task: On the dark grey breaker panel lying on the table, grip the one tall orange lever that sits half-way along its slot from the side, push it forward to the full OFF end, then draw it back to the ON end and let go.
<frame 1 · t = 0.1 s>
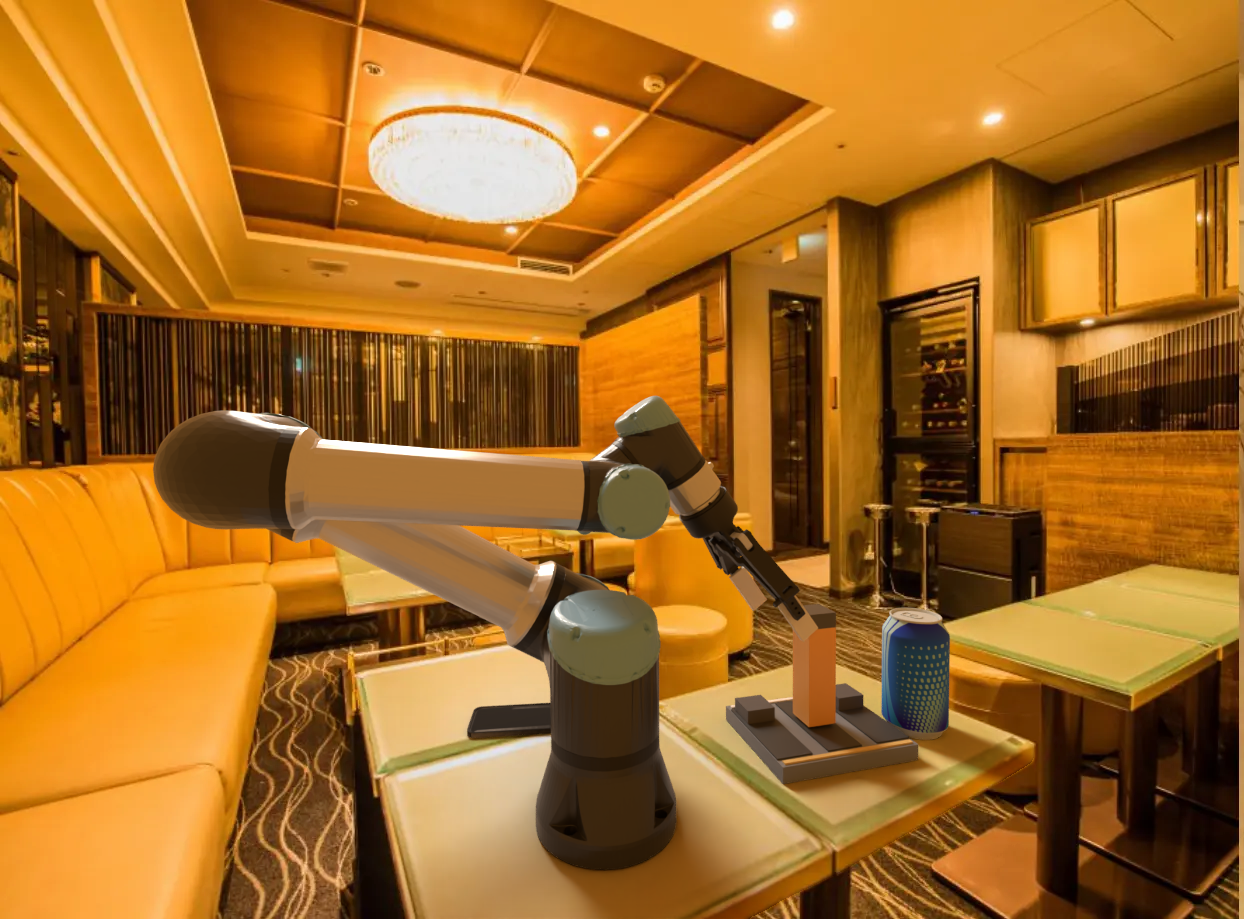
hand: (782, 618, 82), 15 cm above the table, tool tilted 35°, fingers open, 13 cm apart
beer can: (914, 728, 81), on the table
orange lever: (813, 663, 78), point 10 cm above the table, slide at 0.4 cm
phone: (523, 724, 84), on the table
breaker panel: (815, 738, 78), on the table
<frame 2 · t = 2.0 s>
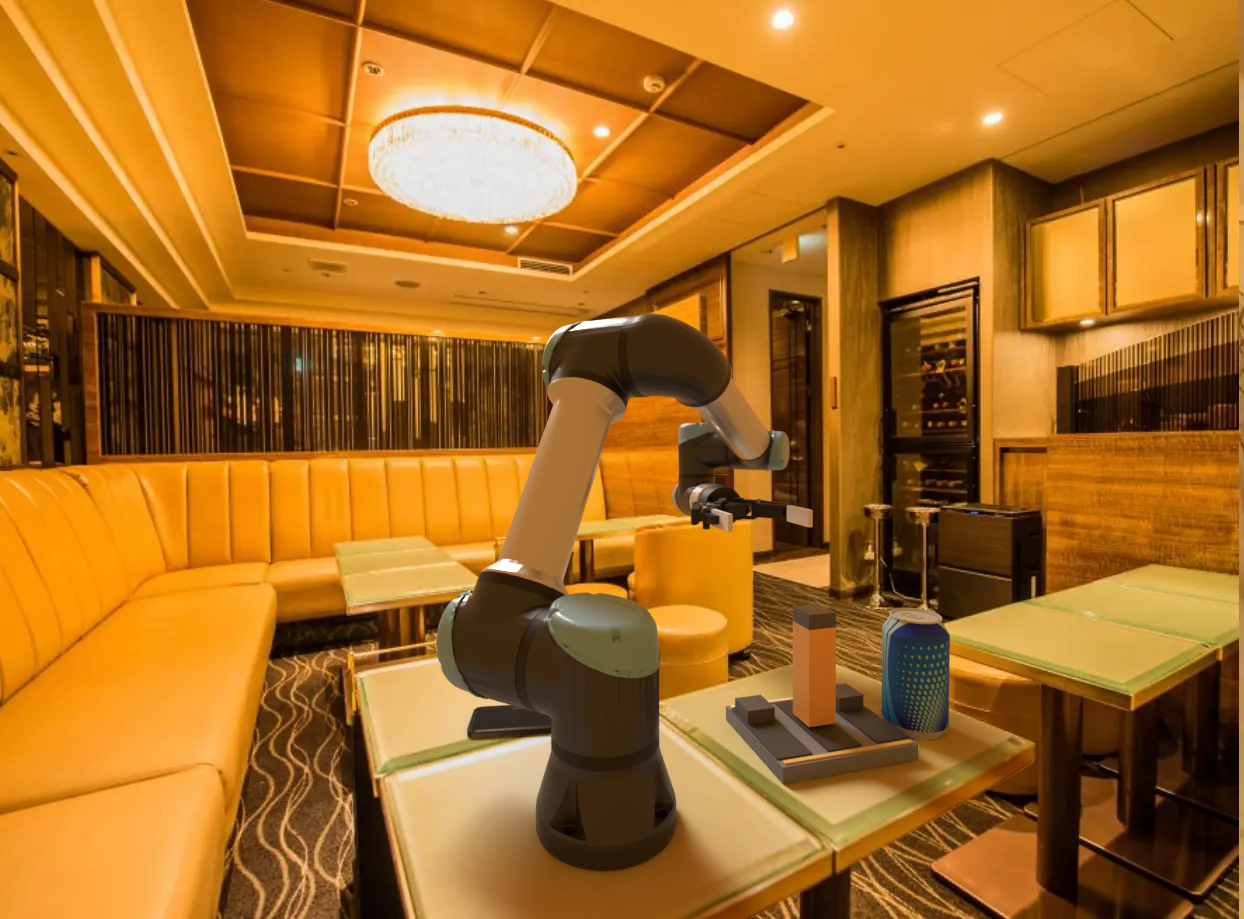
hand: (771, 520, 89), 28 cm above the table, tool horizontal, fingers open, 13 cm apart
nothing on the table moved.
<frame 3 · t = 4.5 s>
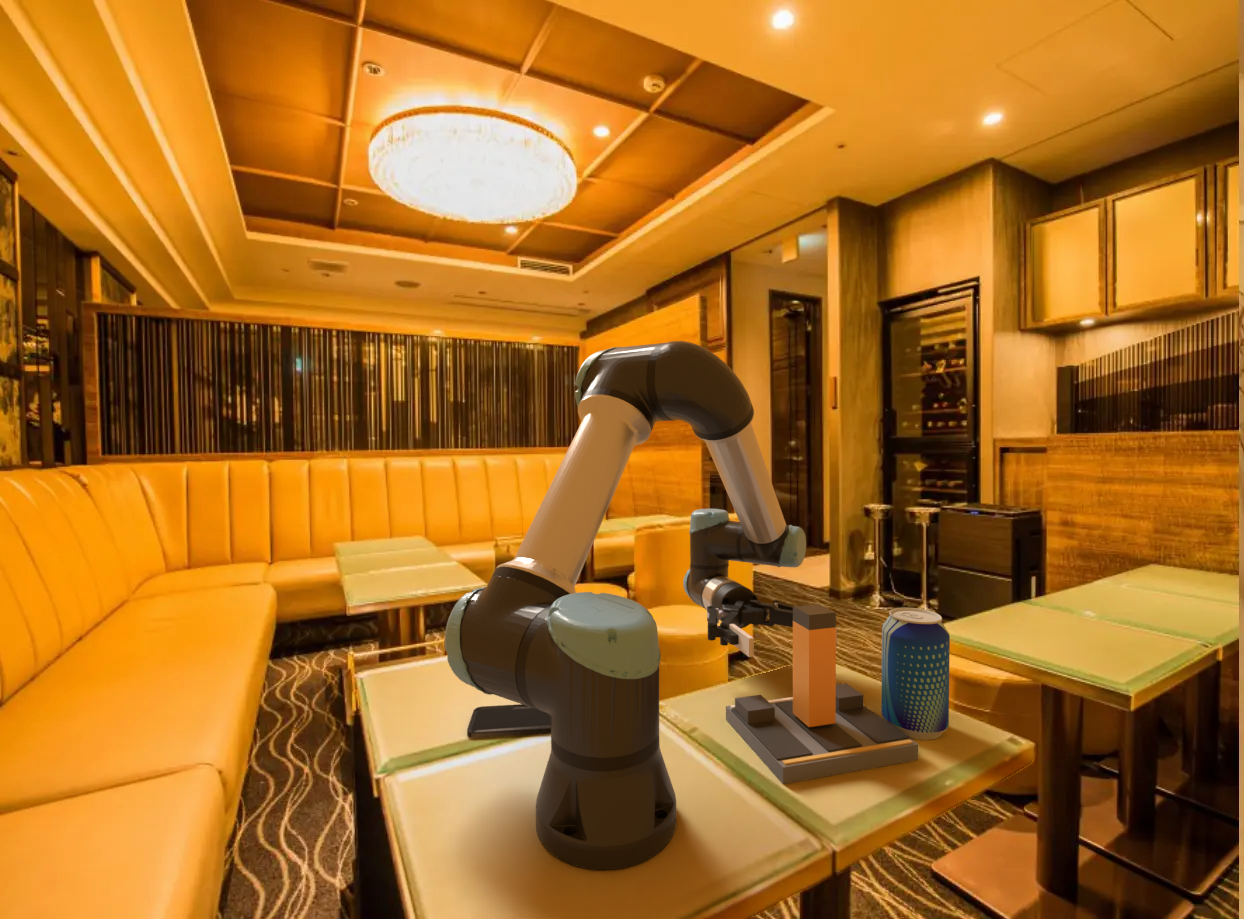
hand: (794, 642, 84), 11 cm above the table, tool horizontal, fingers open, 13 cm apart
nothing on the table moved.
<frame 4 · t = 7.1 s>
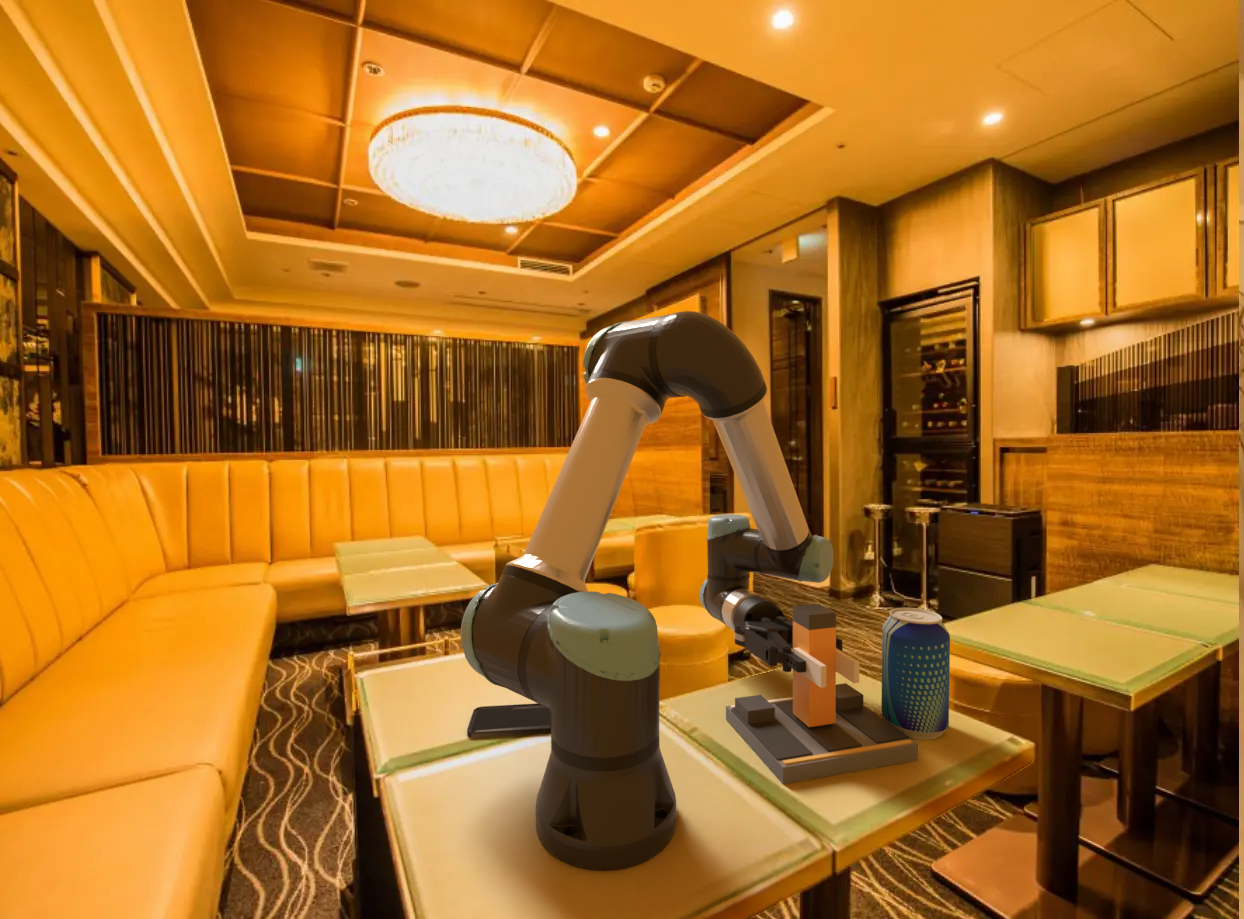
hand: (840, 674, 72), 11 cm above the table, tool horizontal, fingers closed on orange lever, 4 cm apart
orange lever: (813, 663, 78), point 10 cm above the table, slide at 0.4 cm, touching gripper
everything else where it was.
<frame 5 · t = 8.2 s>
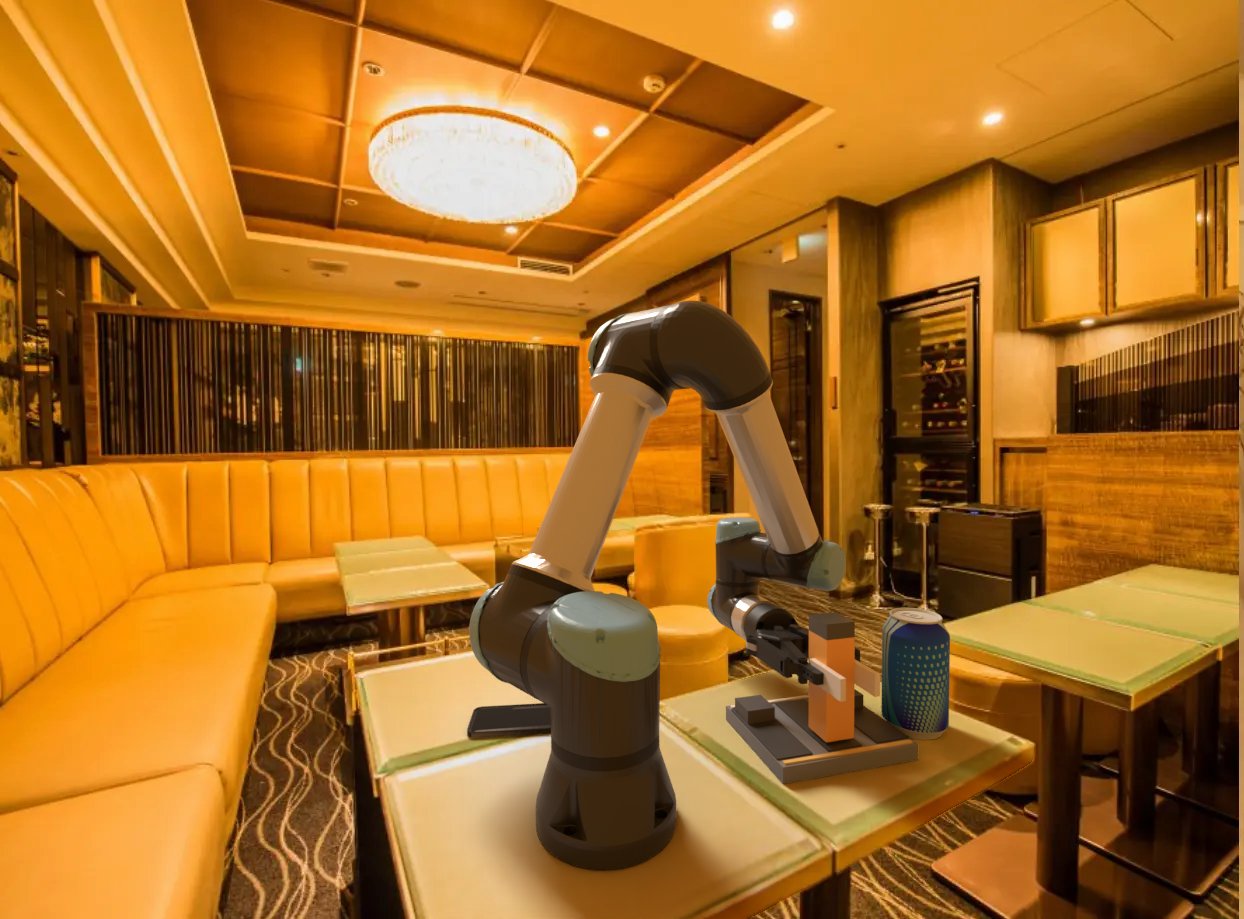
hand: (860, 687, 69), 11 cm above the table, tool horizontal, fingers closed on orange lever, 4 cm apart
orange lever: (831, 675, 74), point 10 cm above the table, slide at -3.5 cm, touching gripper
everything else where it was.
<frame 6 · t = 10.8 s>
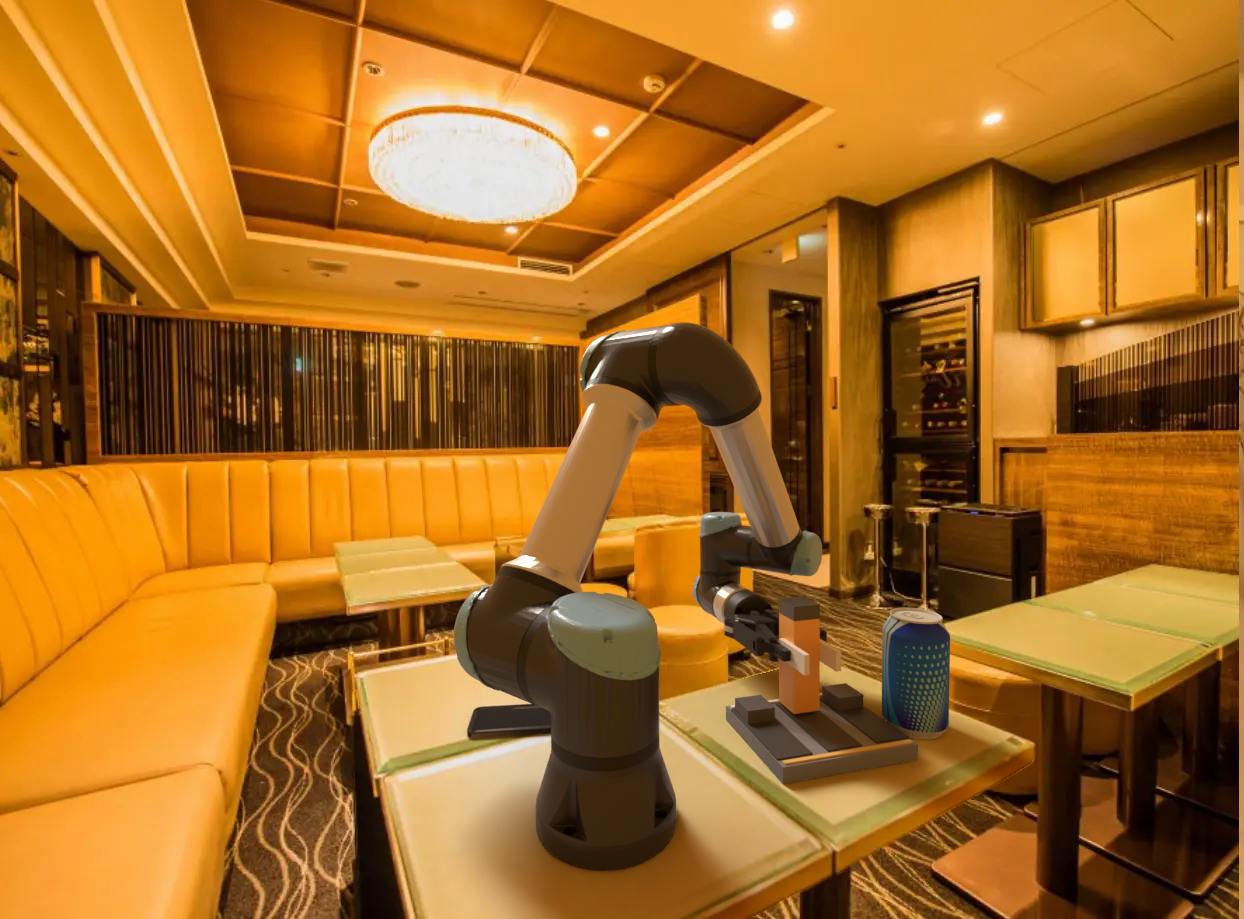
hand: (822, 663, 76), 11 cm above the table, tool horizontal, fingers closed on orange lever, 4 cm apart
orange lever: (798, 653, 82), point 10 cm above the table, slide at 4.1 cm, touching gripper
everything else where it was.
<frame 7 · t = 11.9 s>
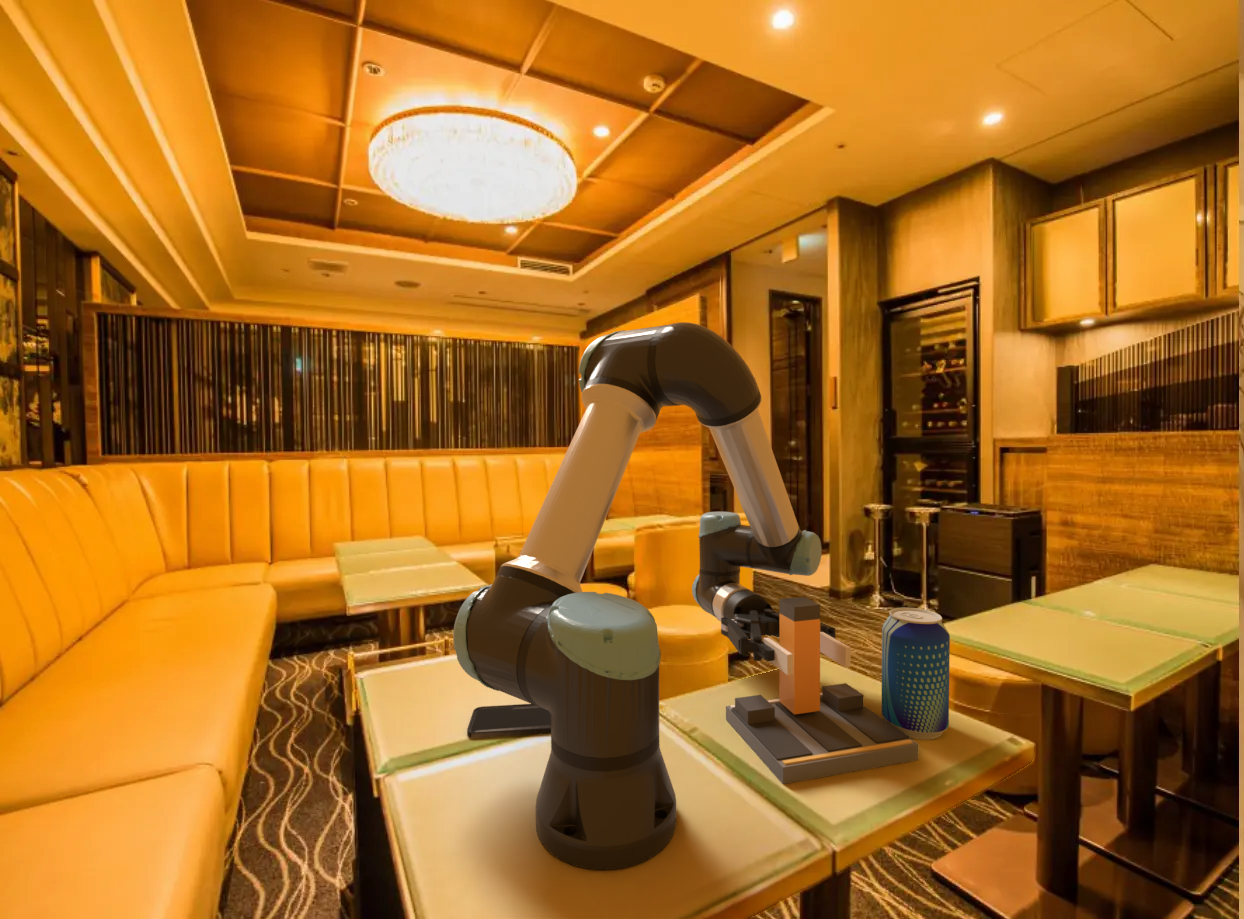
hand: (819, 660, 77), 11 cm above the table, tool horizontal, fingers open, 8 cm apart
orange lever: (799, 654, 82), point 10 cm above the table, slide at 4.0 cm
everything else where it was.
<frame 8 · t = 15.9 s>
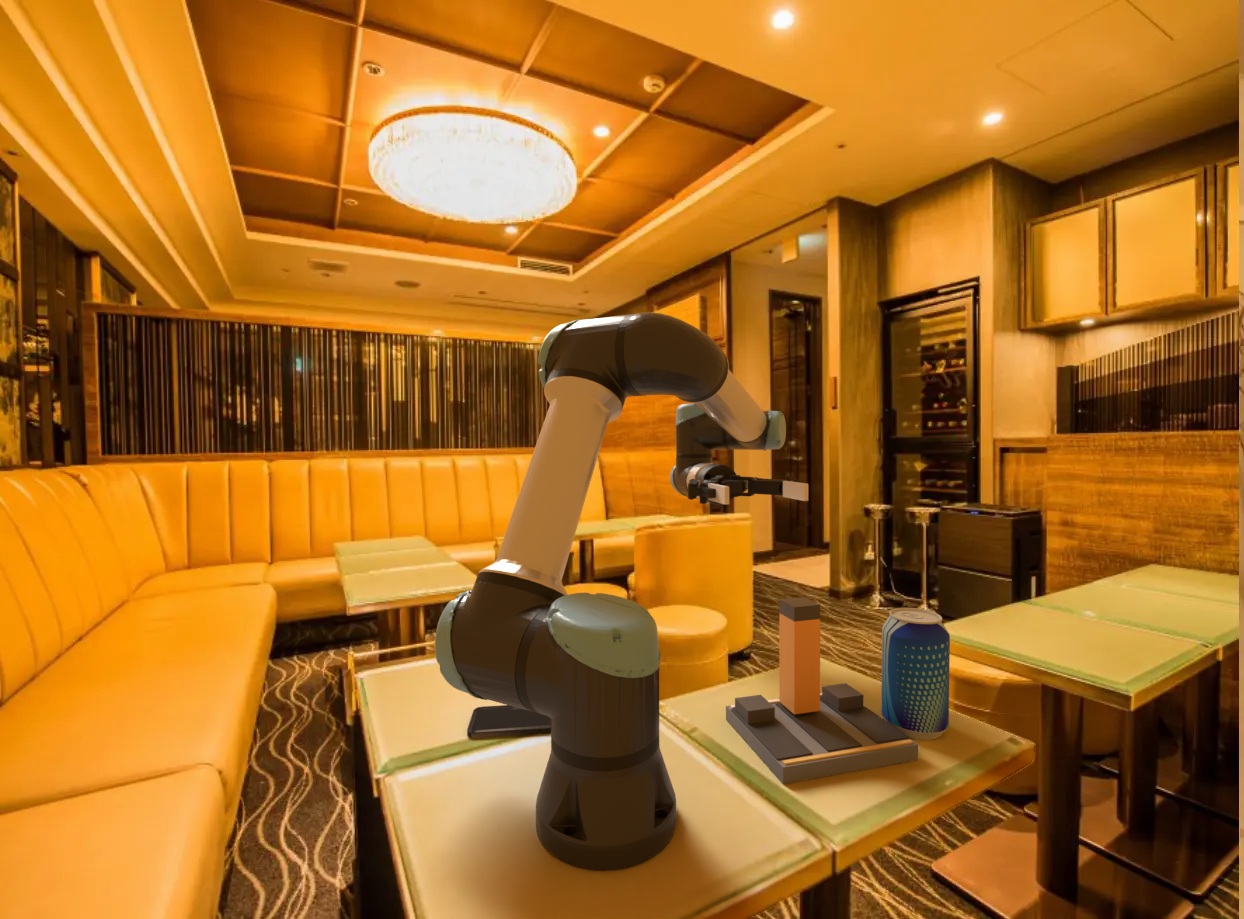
hand: (767, 494, 90), 32 cm above the table, tool horizontal, fingers open, 13 cm apart
nothing on the table moved.
at the end: orange lever slide at 4.0 cm; the gripper is holding nothing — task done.
